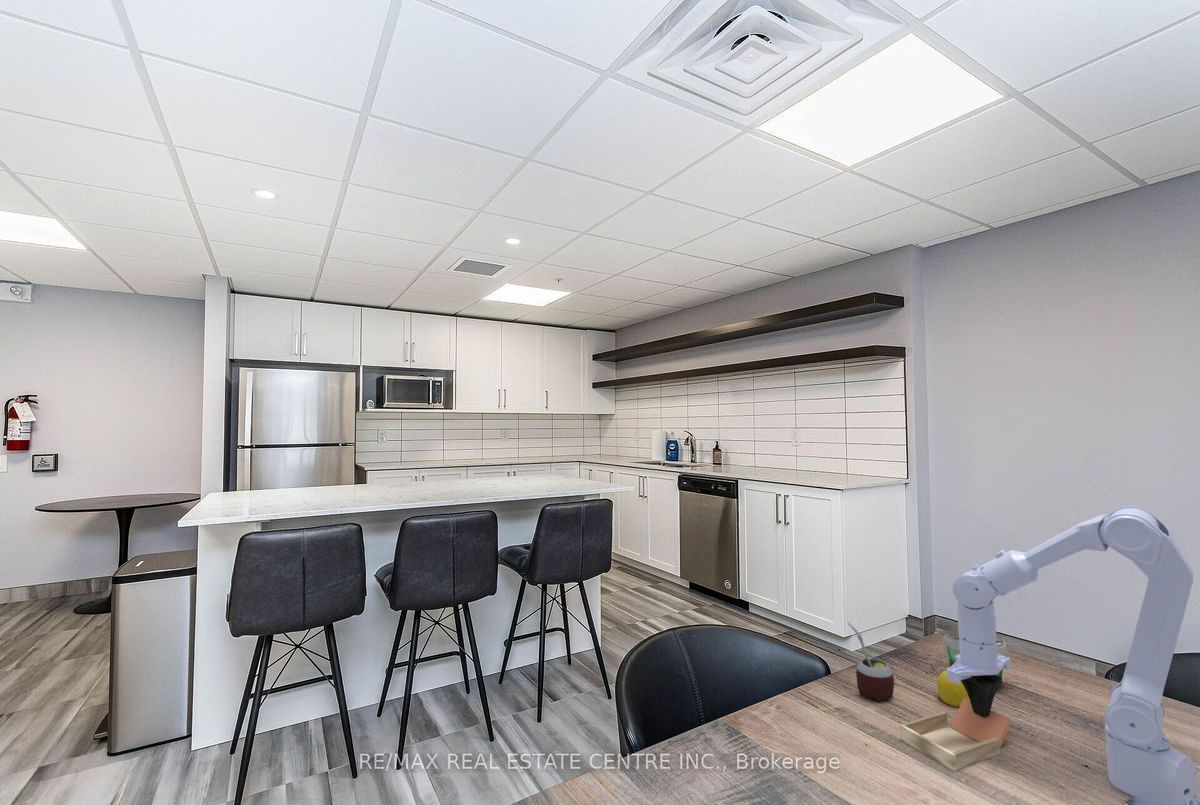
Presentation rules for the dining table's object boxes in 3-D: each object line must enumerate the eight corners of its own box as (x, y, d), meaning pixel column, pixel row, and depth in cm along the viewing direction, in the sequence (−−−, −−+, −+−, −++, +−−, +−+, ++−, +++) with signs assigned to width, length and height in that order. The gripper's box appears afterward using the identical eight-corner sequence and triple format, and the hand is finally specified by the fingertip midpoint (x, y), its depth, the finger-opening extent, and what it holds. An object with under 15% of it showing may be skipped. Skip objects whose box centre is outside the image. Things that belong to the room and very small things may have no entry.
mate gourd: (898, 712, 111) (895, 637, 111) (856, 708, 113) (852, 634, 113) (890, 695, 118) (886, 624, 118) (850, 691, 120) (847, 621, 120)
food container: (953, 690, 119) (950, 643, 119) (944, 677, 125) (942, 633, 125) (1019, 696, 115) (1017, 648, 116) (1007, 683, 121) (1005, 637, 122)
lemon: (975, 717, 108) (973, 676, 108) (944, 715, 109) (942, 674, 109) (963, 703, 113) (961, 664, 114) (933, 701, 115) (931, 662, 115)
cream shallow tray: (1000, 762, 94) (999, 738, 94) (954, 780, 90) (953, 755, 90) (944, 732, 103) (943, 711, 103) (900, 747, 99) (899, 725, 99)
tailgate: (995, 750, 95) (1008, 718, 97) (950, 727, 102) (963, 697, 104) (998, 753, 95) (1011, 721, 97) (953, 729, 103) (966, 700, 104)
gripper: (981, 625, 107) (985, 696, 106) (929, 637, 101) (932, 712, 101) (1021, 638, 100) (1024, 713, 100) (967, 652, 95) (970, 732, 94)
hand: (981, 714), depth 100 cm, fingers closed
